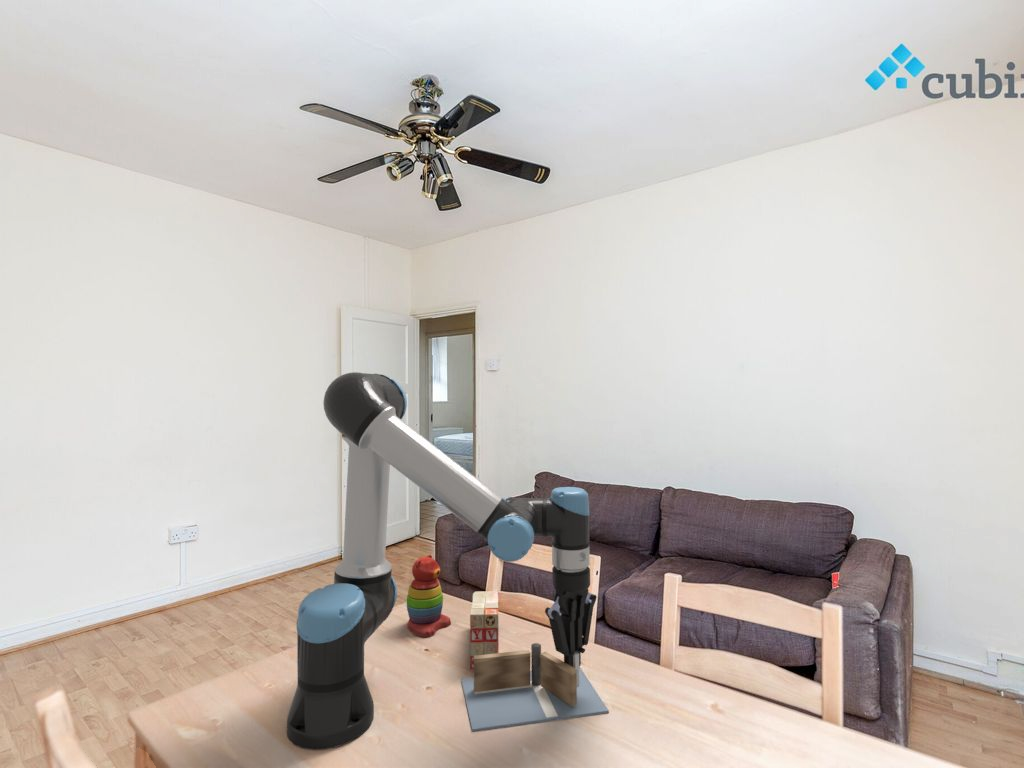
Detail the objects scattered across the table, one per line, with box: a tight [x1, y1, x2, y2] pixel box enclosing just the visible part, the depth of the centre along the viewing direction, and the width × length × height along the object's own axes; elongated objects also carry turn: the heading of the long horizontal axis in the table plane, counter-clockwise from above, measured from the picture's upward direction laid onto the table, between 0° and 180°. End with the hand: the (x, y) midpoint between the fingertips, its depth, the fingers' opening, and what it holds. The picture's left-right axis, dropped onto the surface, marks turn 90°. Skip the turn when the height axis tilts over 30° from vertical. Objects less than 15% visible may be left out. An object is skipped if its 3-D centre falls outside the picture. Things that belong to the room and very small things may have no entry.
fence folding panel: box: [540, 651, 577, 706], centre depth 105 cm, size 9×1×7 cm, turn 39°
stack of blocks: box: [469, 590, 500, 670], centre depth 127 cm, size 21×6×12 cm, turn 1°
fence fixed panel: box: [473, 642, 542, 692], centre depth 108 cm, size 14×2×8 cm, turn 102°
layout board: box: [460, 665, 610, 732], centre depth 106 cm, size 26×17×1 cm, turn 102°
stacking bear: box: [406, 554, 452, 638], centre depth 138 cm, size 11×10×18 cm
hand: (572, 684), depth 106 cm, fingers closed
